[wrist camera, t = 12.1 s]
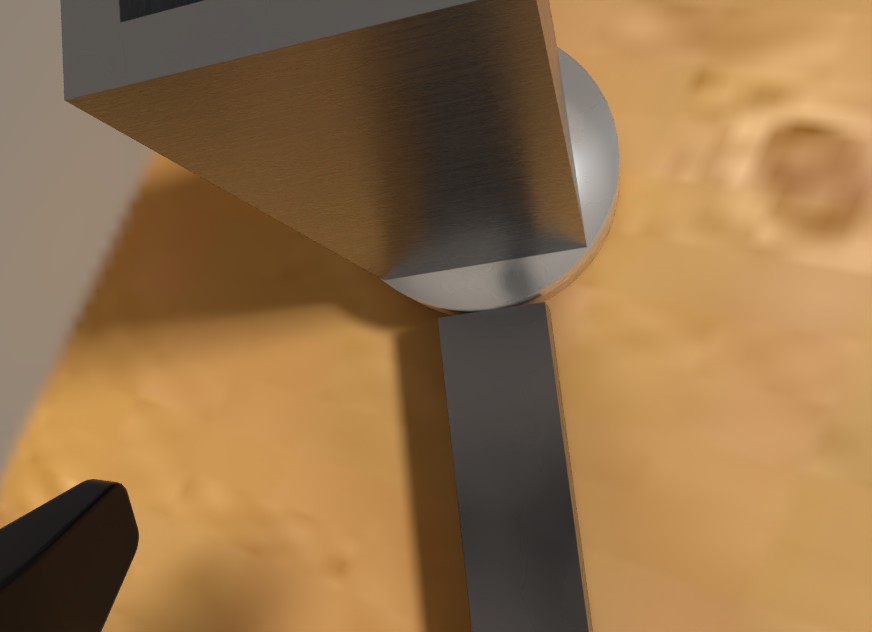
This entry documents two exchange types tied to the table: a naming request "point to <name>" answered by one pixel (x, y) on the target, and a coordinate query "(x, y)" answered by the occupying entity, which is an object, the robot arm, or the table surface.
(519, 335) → the ratchet
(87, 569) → the robot arm
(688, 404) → the table surface
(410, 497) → the table surface
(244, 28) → the socket
